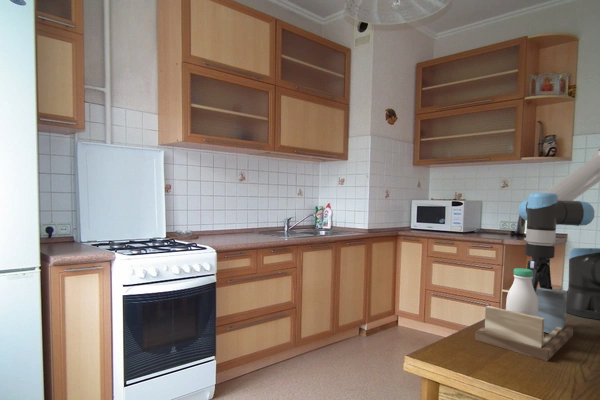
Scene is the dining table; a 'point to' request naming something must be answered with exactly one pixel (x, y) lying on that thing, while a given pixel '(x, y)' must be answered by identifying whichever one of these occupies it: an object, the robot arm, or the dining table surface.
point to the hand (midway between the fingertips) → (536, 313)
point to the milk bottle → (522, 293)
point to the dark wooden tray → (524, 348)
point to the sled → (530, 320)
